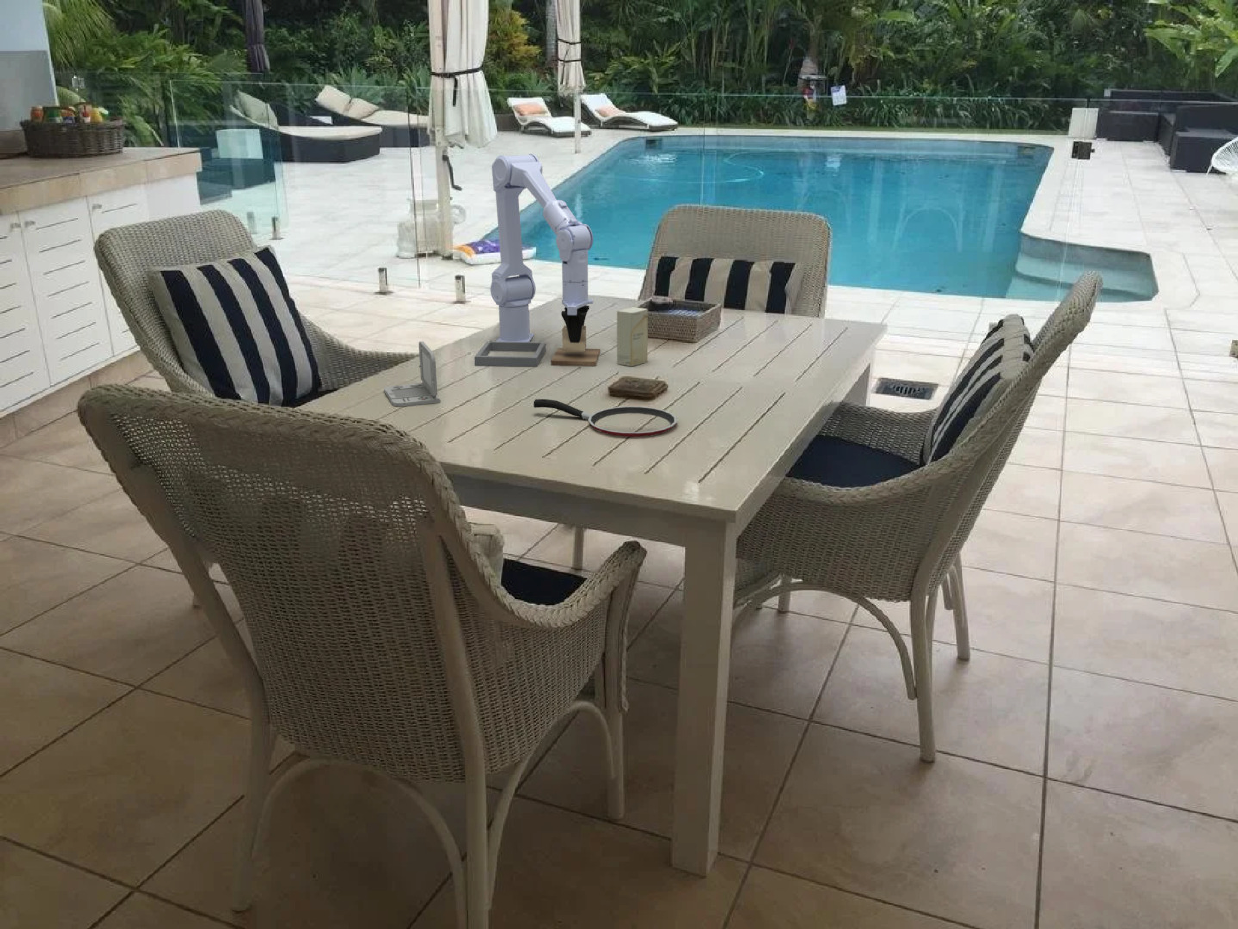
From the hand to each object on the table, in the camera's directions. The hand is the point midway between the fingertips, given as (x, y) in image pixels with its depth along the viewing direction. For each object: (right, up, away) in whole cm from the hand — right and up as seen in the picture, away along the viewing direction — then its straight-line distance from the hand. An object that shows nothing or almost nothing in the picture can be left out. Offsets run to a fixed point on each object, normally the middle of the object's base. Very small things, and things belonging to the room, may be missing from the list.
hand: (575, 340), depth 240 cm
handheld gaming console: (-32, -15, -27) cm, 44 cm away
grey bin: (-15, -4, +2) cm, 16 cm away
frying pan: (+7, -21, -42) cm, 48 cm away
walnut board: (0, -4, +1) cm, 4 cm away
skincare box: (+13, -5, -2) cm, 14 cm away
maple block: (0, -2, +1) cm, 2 cm away
